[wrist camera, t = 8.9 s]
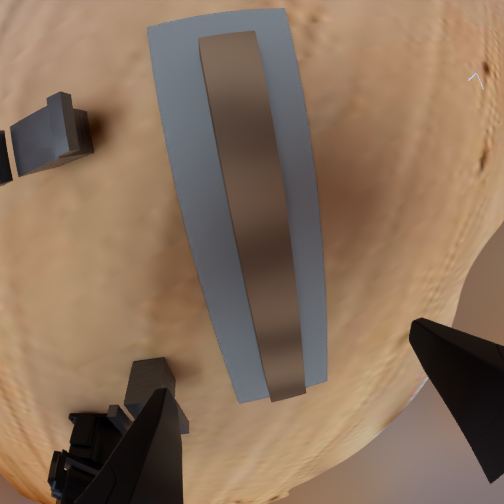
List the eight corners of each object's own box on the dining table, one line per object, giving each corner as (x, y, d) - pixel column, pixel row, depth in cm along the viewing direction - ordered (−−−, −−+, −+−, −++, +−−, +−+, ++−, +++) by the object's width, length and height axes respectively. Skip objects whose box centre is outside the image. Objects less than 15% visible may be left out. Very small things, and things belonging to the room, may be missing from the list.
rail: (296, 370, 24) (306, 393, 22) (264, 378, 24) (271, 402, 21) (247, 46, 14) (255, 30, 12) (199, 54, 14) (198, 37, 11)
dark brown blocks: (188, 378, 24) (189, 433, 18) (134, 385, 23) (124, 437, 17) (178, 354, 22) (175, 412, 17) (120, 363, 22) (106, 416, 16)
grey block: (111, 146, 16) (69, 151, 10) (44, 172, 15) (-8, 189, 10) (103, 104, 15) (60, 91, 9) (37, 133, 14) (-17, 137, 9)
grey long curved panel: (325, 377, 26) (327, 380, 26) (238, 399, 26) (239, 403, 25) (282, 11, 14) (284, 8, 13) (148, 30, 13) (147, 27, 13)
